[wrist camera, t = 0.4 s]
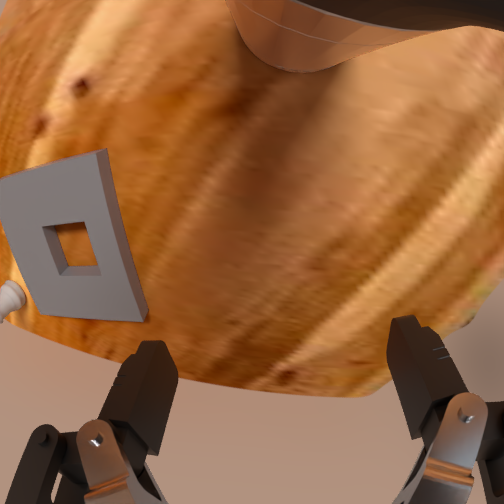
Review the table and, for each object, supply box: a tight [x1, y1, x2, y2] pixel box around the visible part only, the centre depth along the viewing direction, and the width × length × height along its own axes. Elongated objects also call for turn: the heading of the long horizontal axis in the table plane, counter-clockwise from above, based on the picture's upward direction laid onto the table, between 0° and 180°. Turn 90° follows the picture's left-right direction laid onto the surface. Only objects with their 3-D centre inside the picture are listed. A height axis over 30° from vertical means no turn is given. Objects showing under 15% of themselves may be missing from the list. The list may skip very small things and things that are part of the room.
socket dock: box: [0, 148, 149, 322], centre depth 27 cm, size 18×16×2 cm
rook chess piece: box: [0, 280, 26, 323], centre depth 29 cm, size 4×4×8 cm
